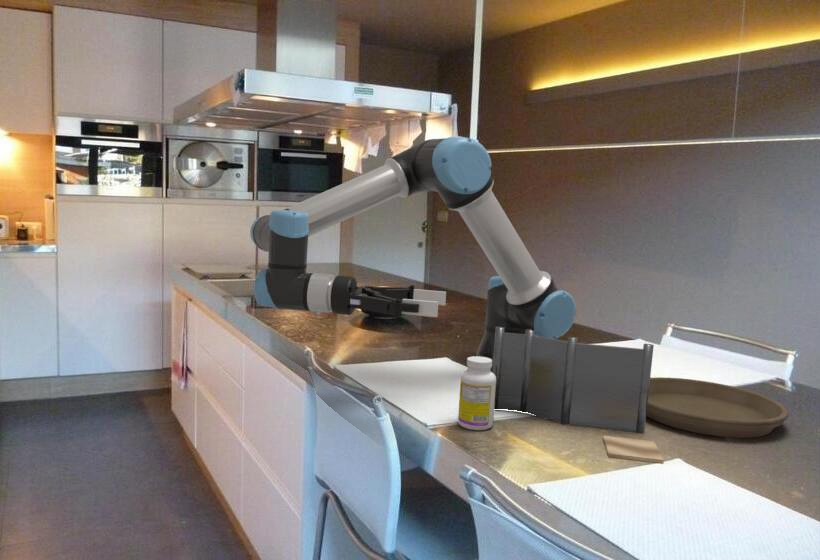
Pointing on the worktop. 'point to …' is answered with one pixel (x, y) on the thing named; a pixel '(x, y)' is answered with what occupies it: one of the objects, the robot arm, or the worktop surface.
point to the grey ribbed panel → (572, 380)
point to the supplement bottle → (477, 394)
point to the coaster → (632, 449)
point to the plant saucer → (712, 408)
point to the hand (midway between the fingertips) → (442, 303)
